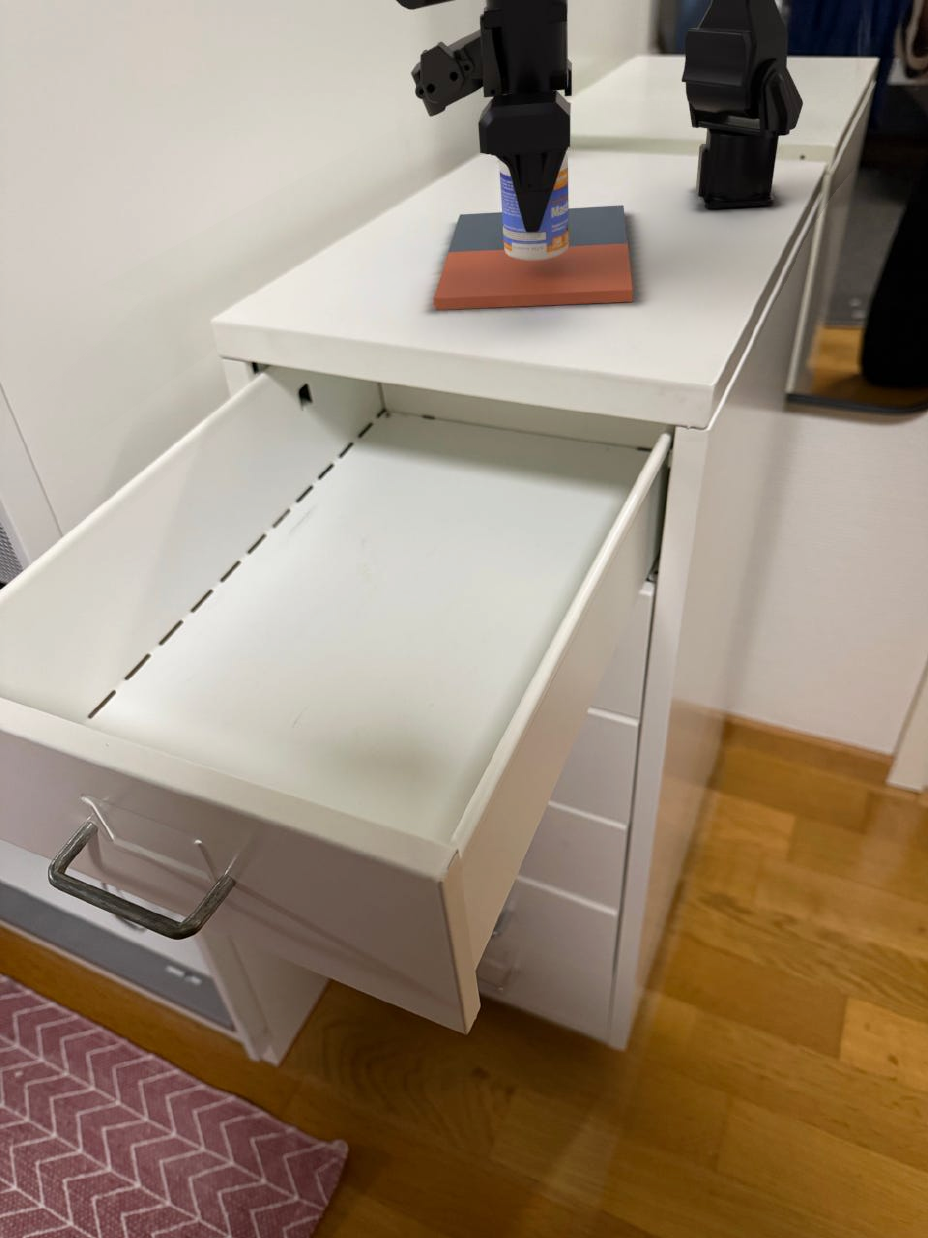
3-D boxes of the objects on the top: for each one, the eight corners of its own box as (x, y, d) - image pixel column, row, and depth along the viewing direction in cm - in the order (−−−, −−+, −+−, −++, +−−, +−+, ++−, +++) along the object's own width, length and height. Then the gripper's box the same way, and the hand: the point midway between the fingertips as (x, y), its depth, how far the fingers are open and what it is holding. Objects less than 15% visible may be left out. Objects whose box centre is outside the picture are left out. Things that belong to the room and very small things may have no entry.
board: (623, 215, 85) (623, 204, 85) (632, 301, 70) (633, 289, 69) (460, 224, 88) (459, 214, 87) (434, 310, 72) (433, 298, 71)
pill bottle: (565, 262, 70) (563, 127, 64) (498, 263, 72) (491, 130, 65) (572, 238, 74) (572, 108, 68) (509, 239, 75) (503, 112, 69)
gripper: (428, -23, 69) (448, 189, 79) (391, 16, 55) (420, 267, 66) (571, -36, 67) (572, 181, 78) (569, 0, 54) (570, 259, 64)
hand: (533, 218), depth 71 cm, fingers closed on pill bottle, 5 cm apart
